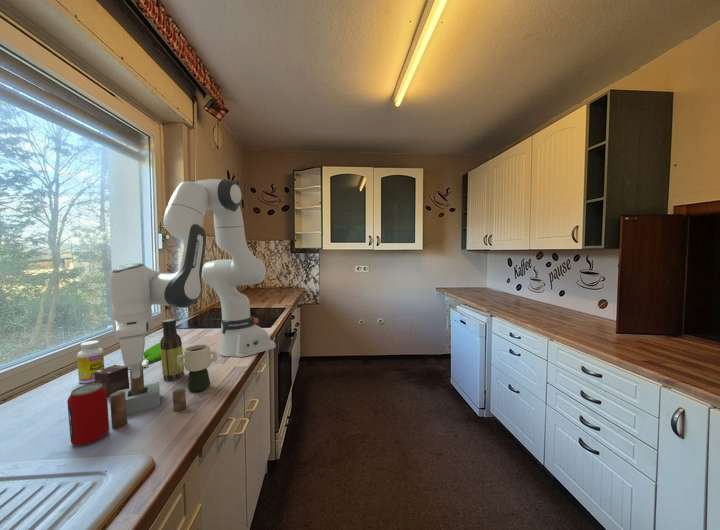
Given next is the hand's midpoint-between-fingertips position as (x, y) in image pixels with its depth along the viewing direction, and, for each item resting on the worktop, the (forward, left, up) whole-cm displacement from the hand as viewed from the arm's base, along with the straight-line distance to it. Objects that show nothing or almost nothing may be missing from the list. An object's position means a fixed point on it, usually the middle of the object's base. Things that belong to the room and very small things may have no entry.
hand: (137, 371), depth 85 cm
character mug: (-15, -1, -10) cm, 18 cm away
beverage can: (+9, +13, -10) cm, 18 cm away
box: (+7, -14, -10) cm, 19 cm away
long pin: (0, 0, -10) cm, 10 cm away
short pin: (-9, +10, -10) cm, 16 cm away
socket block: (0, +1, -10) cm, 10 cm away
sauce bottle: (-9, -15, -10) cm, 20 cm away
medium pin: (+4, +10, -10) cm, 14 cm away
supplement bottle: (+14, -30, -10) cm, 35 cm away
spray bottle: (-3, -44, -10) cm, 45 cm away
